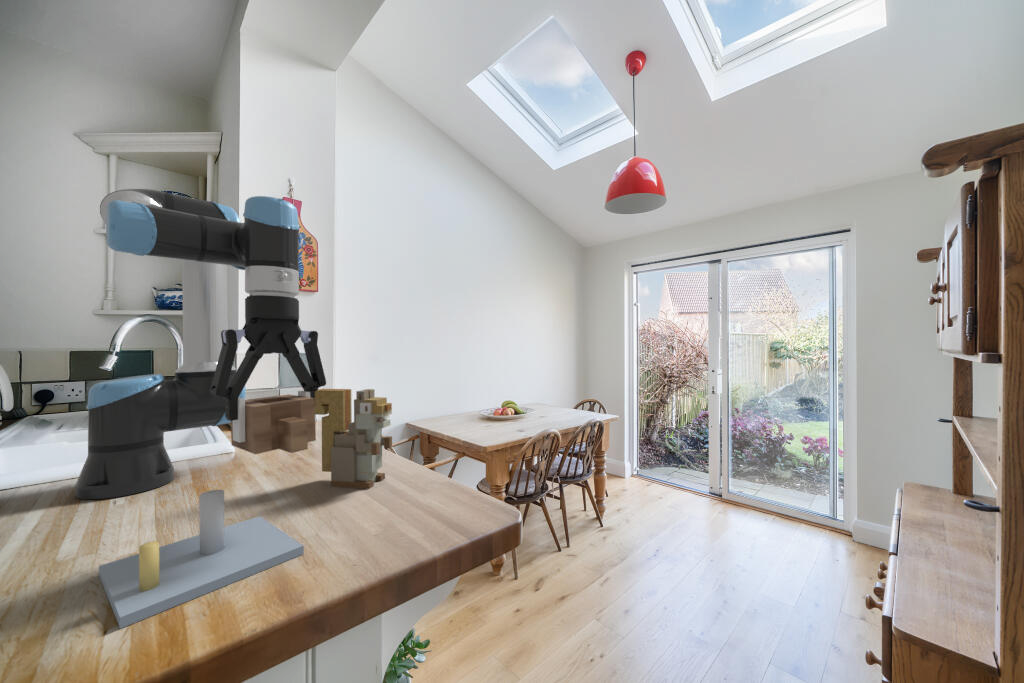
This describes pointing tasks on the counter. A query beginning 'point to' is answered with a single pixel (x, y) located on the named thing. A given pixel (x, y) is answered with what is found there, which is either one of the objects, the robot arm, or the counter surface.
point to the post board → (194, 563)
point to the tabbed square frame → (278, 424)
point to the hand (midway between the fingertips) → (273, 434)
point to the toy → (353, 436)
